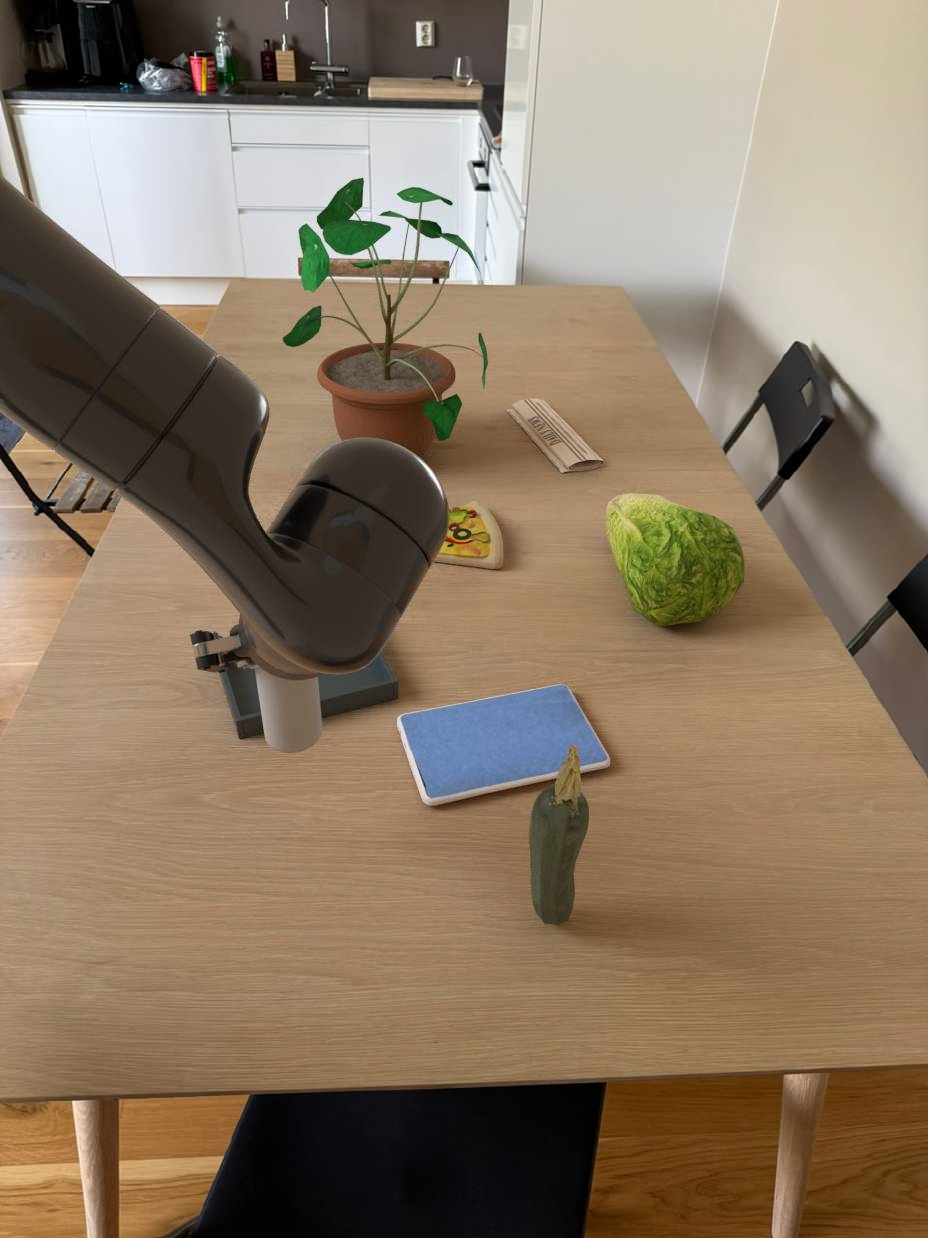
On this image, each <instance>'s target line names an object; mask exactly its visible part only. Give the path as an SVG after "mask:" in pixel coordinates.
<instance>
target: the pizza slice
mask: <svg viewBox="0 0 928 1238" xmlns="http://www.w3.org/2000/svg"><path fill="white" fill-rule="evenodd" d="M435 562H437V563H443V564H450V565H459V566H467V567H475V568H481V569H482V568H483V569H490V570H499V569H501V568H502V567H503V564H504V540H503V536H502V532H501V529H500V526H499V524H498V522H497V520H496V519H495V517H494V516H493V515H492V513H491V512H490V511H489V510H488V509H487V508H486V507H485V505H484V504H482V503H481V502H480V501H477V500H471V501H470V502H468V503H466V504H465V505H460V506H455V507H451V508H449V528H448V533H447V536H446V539H445V541H444V544H443V546H442V548H441V550H440V552H439V553H438V555H437V557H436V559H435V560H434V562H433V563H435Z"/></svg>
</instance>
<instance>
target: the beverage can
mask: <svg viewBox="0 0 928 1238" xmlns="http://www.w3.org/2000/svg"><path fill="white" fill-rule="evenodd" d="M255 674H256V680H257V687H258V694H259V701H260V707H261V714H262V721H263V728H264V733H263V735H264V740H265V742H266V743H267V745H268V746H269V747H270V748H272V749H273V750H276V751H277V752H280V753H283V754H297V753H301V752H304V751H307V750H309V749H310V748H312V747H313V746H314V745H315V744H317V742H318V741H320V739H321V736H322V735H323V721H322V720H323V718H321V707H320V696H319V685H318V677H315V678H311V679H307V680H287V679H282V678H279V677H276V676H274V675H271V674H269V673H268V672H266V671H264V670H263V669H262V668H260V667H259V668H255Z"/></svg>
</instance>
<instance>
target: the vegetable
mask: <svg viewBox="0 0 928 1238" xmlns="http://www.w3.org/2000/svg"><path fill="white" fill-rule="evenodd" d="M569 748H570V750H569V753H568V755H569V757H568V758H567V759H566V761H564V762H563V763H562V766H561V769H560V771H559V772H558V774H557V777H556V780H555V783H552V784H549V785H547V786H546V787H544V788H543V789H541V792H539V794H538V795H537V796H536V798H535V800H534V802H533V804H532V808H531V811H530V818H529V828H528V842H529V843H528V844H529V859H530V860H529V861H530V862H529V863H530V864H529V868H530V878H529V879H530V881H529V882H530V895H531V901H532V905H533V909H534V912H535V914H536V915H537V917H538V918H539V919H540V921H542V923H543V924H545V925H553V926H559V925H562V924H563V923H565V922H568V921H569V920H570V917H571V915H572V912H573V909H574V903H575V895H576V887H575V870H576V863H577V859H578V857H579V855H580V851H581V850H582V849H581V848H582V846H583V843H584V841H585V838H586V836H587V832H588V829H589V823H590V808H589V807H590V806H589V803H588V800H587V798H586V797H585V795H584V793H583V792H582V779H581V773H580V762H579V761H580V758H579V756H578V751H577V747H576V746H575V745H572V744H570V745H569Z"/></svg>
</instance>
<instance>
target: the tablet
mask: <svg viewBox="0 0 928 1238" xmlns="http://www.w3.org/2000/svg"><path fill="white" fill-rule="evenodd" d="M396 726H397V730H398V733H399V734H400V740H401V743H402V746H403V748H404V751H405V754H406V757H407V760H408V764H409V767H410V769H411V772H412V776H413V778H414V781H415V783H416V786H417V789H418V793H419V794H420V798H421V800H422V802H423V804H425V806H428V807H437V806H440V805H444V804H448V803H452V802H457V801H461V800H465V799H469V798H473V797H477V796H482V795H486V794H491V793H496V792H499V791H504V790H510V789H514V788H517V787H524V786H528V785H532V784H533V785H534V784H538V783H541V782H542V783H543V782H547V781H550V780H555V779H556V777H557V774H558V772H559V771H560V769H561V766H562V763H563V762H564V761H566V759H567V758H568V757H569V755H568V753H569V750H570V748H569V745H570V744H572V745H575V746H576V747H577V751H578V756H579V758H580V761H579V762H580V774H585V773H587V772H589V773H590V772H593V771H598V770H604V769H607V768H609V767H610V766H611V757H610V755H609V753H608V751H607V750H606V749H605V747H604V745H603V743H602V742H601V740H600V738H599V736H598V735H597V733H596V731H595V730H594V728H593V726H592V724H591V722H590V721H589V719H588V718H587V716H586V714H585V713H584V711H583V709H582V707H581V705H580V703H579V702H578V700H577V698H576V696H575V695H574V693H573V692H572V689H571V688H570V687H569V686H568V685H566V684H563V683H558V684H552V685H547V686H543V687H537V688H532V689H528V690H522V691H517V692H511V693H506V694H501V695H496V696H490V697H484V698H480V699H475V700H470V701H464V702H459V703H454V704H447V705H444V706H443V705H442V706H439V707H433V708H428V709H422V710H417V711H411V712H406V713H402V714H400V715H399V716H398V717H397V720H396Z"/></svg>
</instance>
